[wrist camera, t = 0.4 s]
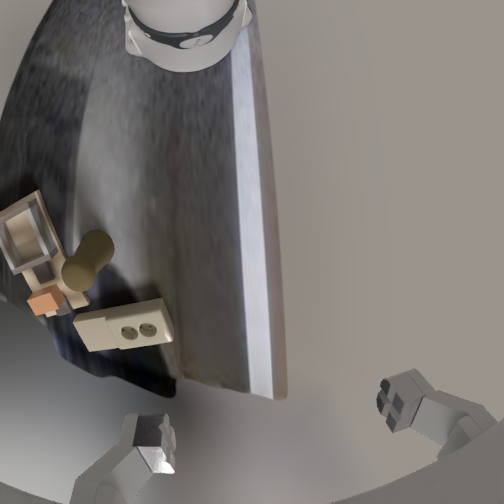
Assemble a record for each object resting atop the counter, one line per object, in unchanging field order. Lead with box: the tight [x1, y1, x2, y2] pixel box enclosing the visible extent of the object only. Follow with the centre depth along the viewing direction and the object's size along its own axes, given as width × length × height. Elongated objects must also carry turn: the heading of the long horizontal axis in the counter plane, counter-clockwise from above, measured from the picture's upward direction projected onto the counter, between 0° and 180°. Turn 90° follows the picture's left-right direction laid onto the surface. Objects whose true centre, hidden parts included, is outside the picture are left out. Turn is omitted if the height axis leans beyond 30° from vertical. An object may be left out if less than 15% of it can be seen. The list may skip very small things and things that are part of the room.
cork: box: [61, 230, 114, 292], centre depth 39 cm, size 6×6×11 cm
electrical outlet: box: [73, 298, 174, 352], centre depth 49 cm, size 7×4×18 cm
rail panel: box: [0, 190, 90, 317], centre depth 41 cm, size 22×11×4 cm, turn 14°
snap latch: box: [27, 284, 65, 316], centre depth 41 cm, size 3×6×3 cm, turn 104°
